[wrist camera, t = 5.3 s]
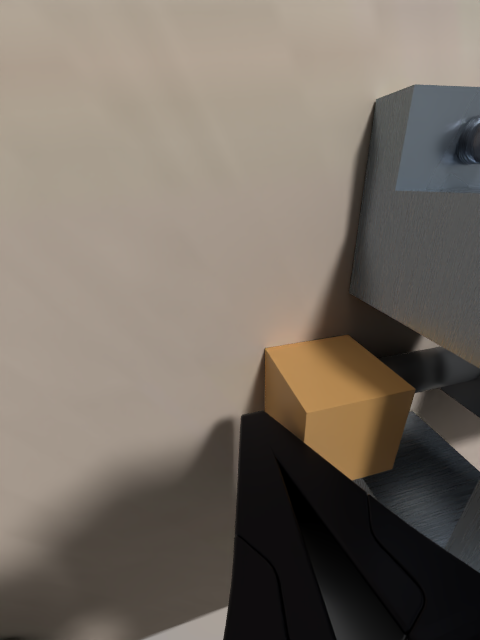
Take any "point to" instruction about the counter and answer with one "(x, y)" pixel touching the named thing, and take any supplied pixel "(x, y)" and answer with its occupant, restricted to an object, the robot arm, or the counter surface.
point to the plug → (358, 397)
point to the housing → (426, 286)
